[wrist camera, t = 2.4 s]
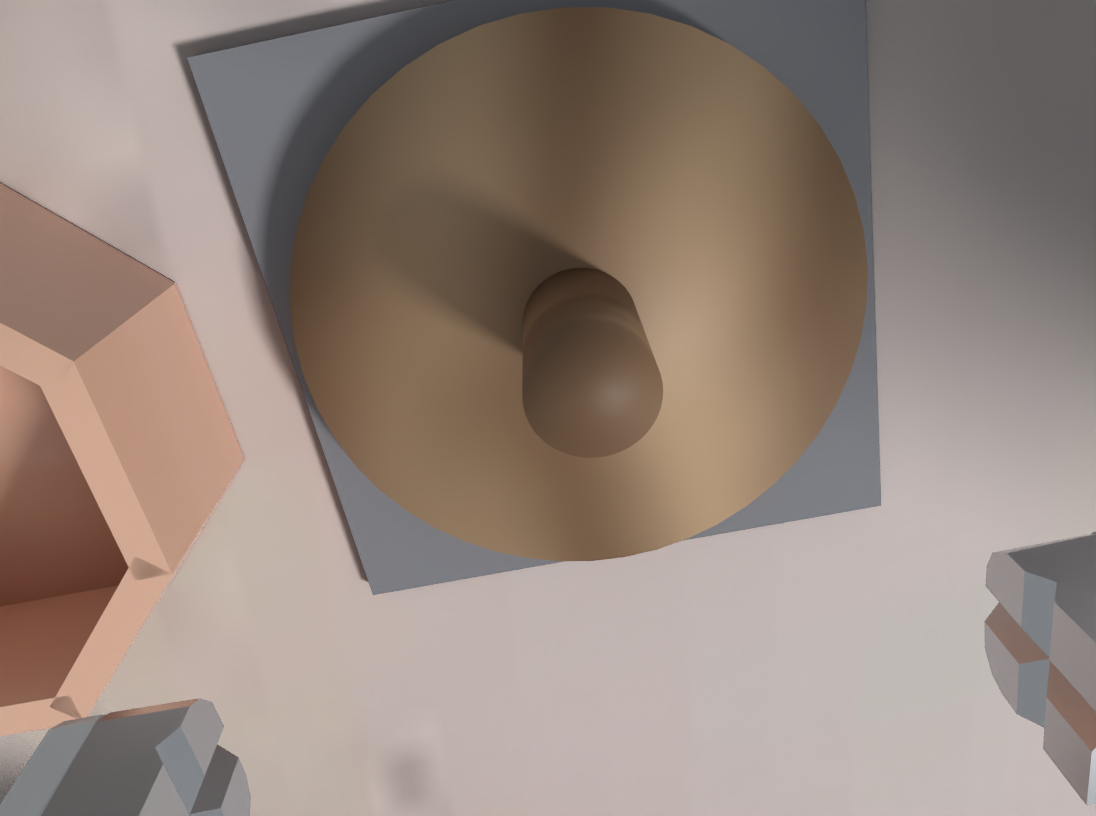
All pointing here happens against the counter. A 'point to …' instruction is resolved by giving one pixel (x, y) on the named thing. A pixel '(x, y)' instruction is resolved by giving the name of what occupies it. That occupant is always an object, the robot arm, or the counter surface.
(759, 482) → the lid
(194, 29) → the counter surface
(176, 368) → the bowl
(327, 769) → the counter surface
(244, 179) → the mat
